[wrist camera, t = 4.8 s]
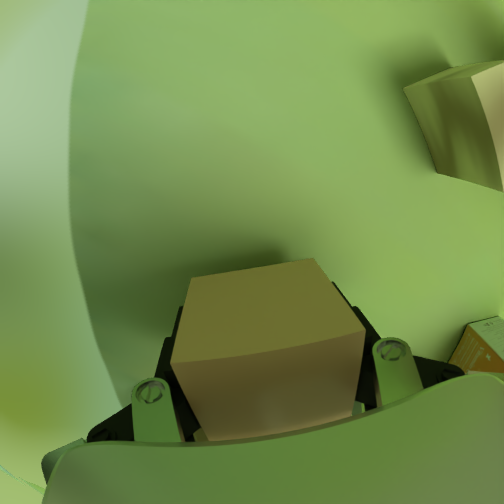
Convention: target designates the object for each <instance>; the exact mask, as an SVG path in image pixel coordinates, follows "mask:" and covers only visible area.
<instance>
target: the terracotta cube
mask: <svg viewBox="0 0 504 504" xmlns="http://www.w3.org/2000/svg"><path fill="white" fill-rule="evenodd" d="M365 332H366V329H365V328H364V326H363V325H362V324H361V322H360V321H359V319H358V318H357V317H356V315H355V314H354V312H353V311H352V310H351V308H350V307H349V305H348V304H347V303H346V301H345V300H344V299H343V297H342V296H341V294H340V293H339V292H338V290H337V289H336V288H335V286H334V285H333V284H332V282H331V281H330V280H329V278H328V277H327V276H326V274H325V273H324V272H323V270H322V269H321V268H320V266H319V265H318V264H317V262H316V261H315V260H314V259H313V258H310V259H304V260H298V261H292V262H286V263H280V264H274V265H268V266H262V267H256V268H250V269H244V270H238V271H231V272H225V273H219V274H212V275H206V276H199V277H193V278H191V281H190V284H189V288H188V292H187V296H186V299H185V303H184V307H183V311H182V315H181V319H180V323H179V327H178V331H177V336H176V340H175V344H174V348H173V353H172V357H171V362H170V364H171V366H172V369H173V371H174V373H175V375H176V377H177V380H178V382H179V384H180V386H181V388H182V390H183V392H184V394H185V396H186V398H187V400H188V402H189V404H190V406H191V408H192V410H193V412H194V414H195V416H196V418H197V420H198V422H199V424H200V425H201V427H202V429H203V431H204V433H205V435H206V436H207V438H208V440H209V441H220V440H232V439H241V438H250V437H258V436H265V435H271V434H277V433H283V432H288V431H293V430H298V429H303V428H308V427H312V426H316V425H321V424H325V423H328V422H332V421H336V420H340V419H343V418H347V417H350V416H351V414H352V410H353V405H354V400H355V396H356V390H357V385H358V380H359V374H360V368H361V362H362V355H363V348H364V340H365Z"/></svg>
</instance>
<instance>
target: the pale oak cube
mask: <svg viewBox="0 0 504 504" xmlns="http://www.w3.org/2000/svg"><path fill="white" fill-rule="evenodd" d="M402 89H403V91H404V93H405V95H406V97H407V99H408V101H409V103H410V105H411V107H412V109H413V111H414V113H415V116H416V118H417V120H418V122H419V125H420V127H421V130H422V132H423V134H424V137H425V139H426V142H427V145H428V147H429V150H430V153H431V155H432V158H433V161H434V164H435V167H436V170H437V173H438V174H443V175H447V176H450V177H454V178H458V179H462V180H465V181H469V182H472V183H476V184H479V185H482V186H485V187H489V188H492V189H495V190H498V191H501V192H504V60H498V61H489V62H481V63H474V64H468V65H462V66H457V67H452V68H449V69H447V70H444V71H442V72H439V73H437V74H434V75H432V76H430V77H427V78H425V79H422V80H420V81H418V82H416V83H413V84H411V85H409V86H407V87H404V88H402Z"/></svg>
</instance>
